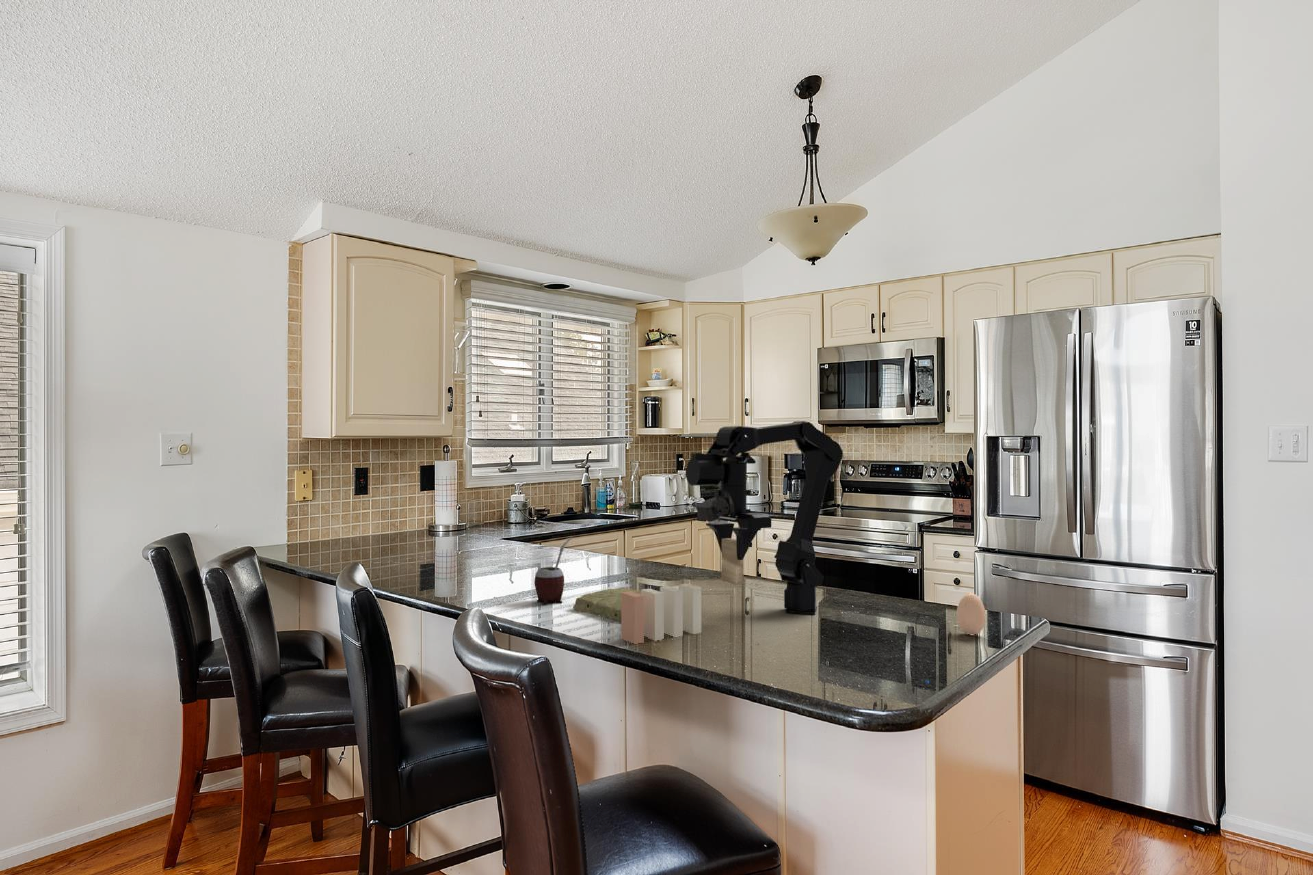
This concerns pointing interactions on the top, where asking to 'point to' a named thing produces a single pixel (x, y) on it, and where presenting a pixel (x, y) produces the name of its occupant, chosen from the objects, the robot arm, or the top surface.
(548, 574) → the mate gourd
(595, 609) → the olive green slab
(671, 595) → the domino
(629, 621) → the domino
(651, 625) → the domino
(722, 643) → the top surface
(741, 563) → the domino
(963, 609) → the egg
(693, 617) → the domino
